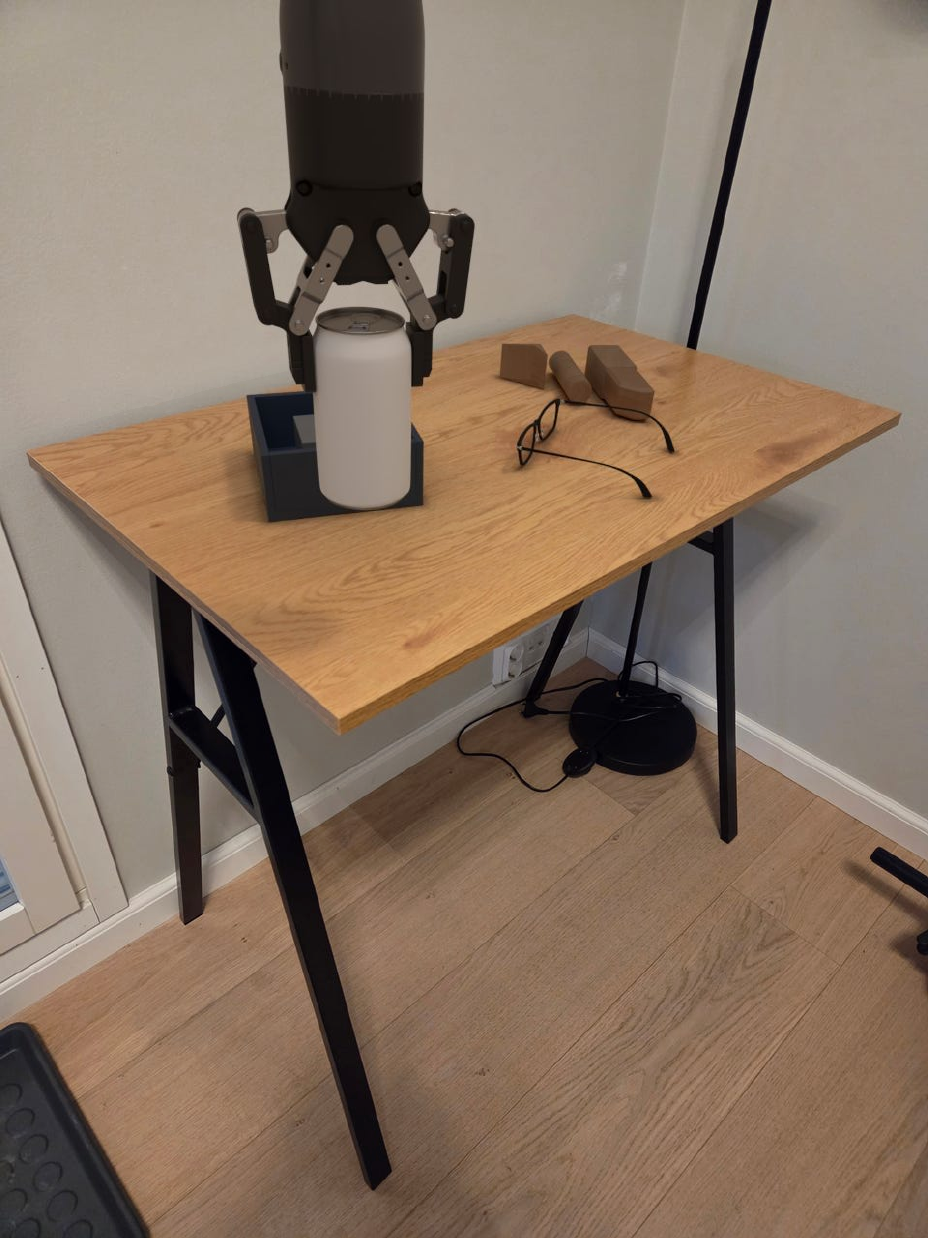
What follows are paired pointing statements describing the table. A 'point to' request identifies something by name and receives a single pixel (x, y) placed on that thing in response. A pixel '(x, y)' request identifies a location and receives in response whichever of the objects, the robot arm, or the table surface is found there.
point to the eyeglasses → (537, 424)
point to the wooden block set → (582, 375)
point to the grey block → (304, 431)
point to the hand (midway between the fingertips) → (362, 385)
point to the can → (362, 406)
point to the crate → (303, 460)
